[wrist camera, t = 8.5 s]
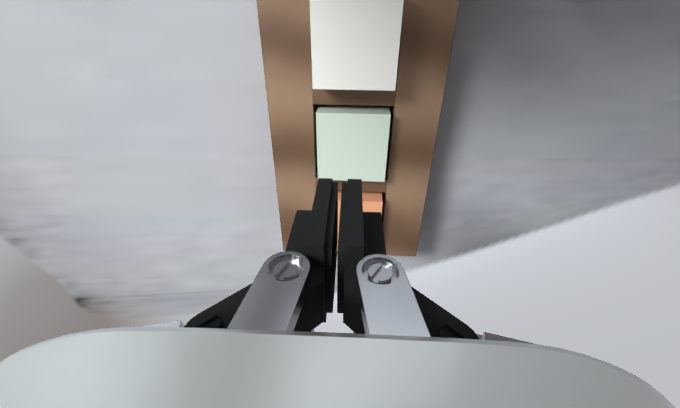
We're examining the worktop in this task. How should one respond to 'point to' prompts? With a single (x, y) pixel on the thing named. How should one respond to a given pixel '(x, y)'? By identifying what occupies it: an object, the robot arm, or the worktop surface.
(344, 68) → the ivory key
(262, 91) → the worktop surface
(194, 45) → the worktop surface
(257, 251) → the worktop surface
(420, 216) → the key panel
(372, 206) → the terracotta key
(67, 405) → the robot arm
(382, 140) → the sage key
